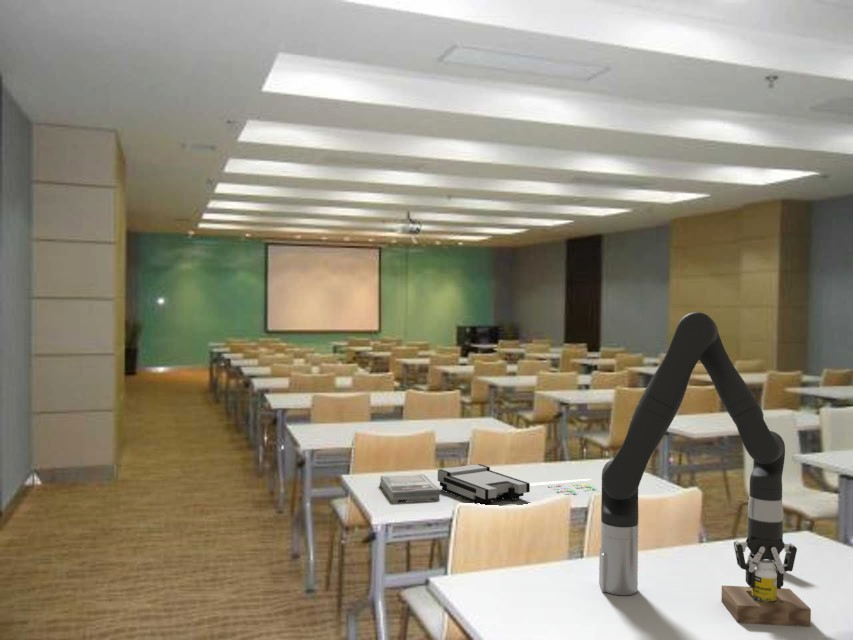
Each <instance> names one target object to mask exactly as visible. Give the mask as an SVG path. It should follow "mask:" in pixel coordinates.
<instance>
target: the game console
mask: <svg viewBox="0 0 853 640" xmlns="http://www.w3.org/2000/svg"><path fill="white" fill-rule="evenodd" d="M490 469H491V467H490V466H487V465H485V464H481V463H477V464H471V465H464V466H455V467H448V468H447V467H446V468H438V469H437V481H438V482H439V486H440V487H442V488H441V490H442V491H443V490H444V492H445V491H447V492H446V493H448V492H449V493H448V494H450V493H452V494H451V495H453V494H454V495H453V496H455V495H456V496H455V497H459V498H461V499H463V500H466V501H468V502H470V503H473V502H474V503H473V504H475V503H480V504H481V505H487V504H493V503H492V502H493V501H496V500H497V498H500V499H503V500H505V501H510V500H516V499H520V497H523V496H525V495H524V494H526V493H530V492H531V491H530V490H531V489H530V488H531V486H530V483H531V482H527V481H525V480H524V481H523V480H520V479H519V478H518V479H517V478H514V477H511V476H509V475H505V474H502V473H500V472H496V471H493V470H490Z"/></svg>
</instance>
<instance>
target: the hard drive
mask: <svg viewBox="0 0 853 640" xmlns="http://www.w3.org/2000/svg"><path fill="white" fill-rule="evenodd" d="M379 481H380V482H379V486H380V487H382V488H383V489H382V488H381V489H382V491H383V492H384V491H385V492H384V493H385V495H386V494H387V495H388V496H387V495H386V496H387V497H388V499H389V498H390V499H391V500H390V499H389V500H390V501H391V502H392V503H393V502H398V503H407V502H406V501H416V502H428V501H427V500H434V501H440V493H441V492H440V491H441V490H440V488H439V486H437V485H436V484H435V483H434V482H433V481H432V480H431V479H430V478H429V477H428V476H427V475H426V474H424V473H411V474H410V473H409V474H391V475H390V474H387V475H385V474H384V475H380V480H379Z"/></svg>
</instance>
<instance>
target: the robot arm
mask: <svg viewBox="0 0 853 640" xmlns="http://www.w3.org/2000/svg"><path fill="white" fill-rule="evenodd" d="M718 329H719V328H718V326H717V324H716V322H715V320H714V319H713V318H712V317H710V316H709V315H708V314H706V313H703V312H701V311H694V312H693V311H692V312H689V313H687V314H686V315H684V316H683V317H682V318H681V319H680V320H679V321H678V323H677V326H676V329H675V331H674V334H673V336H672V339H671V342H670V343H669V346H668V349H667V352H666V354H665V356H664V358H663V360H662V362H661V363H660V365H659V366H658V367H657V369H656V370H655V372H654V374H653V376H652V377H651V379H650V380H649V382H648V384H647V386H646V387H645V389H644V391H643V393H642V395H641V396H640V399H639V401H638V403H637V405H636V407H635V409H634V412H633V414H632V418H631V420H630V423H629V425H628V428H627V432H626V436H625V438H624V440H623V442H622V445H621V446H620V448H619V450H618V451H617V453H616V454H615V456H614V458H612V459H610V460H609V461H607V462H606V463H605V464H604V466H603V468H602V472H601V506H600V510H601V511H600V515H601V516H600V517H601V519H600V520H601V522H600V525H601V526H600V527H601V529H600V536H601V537H600V547H599V555H598V556H599V557H598V559H599V560H598V561H599V565H598V569H599V572H598V573H599V574H598V576H599V577H598V584H599V587H600V590H601V591H602V593H608V594H612V595H616V596H631V595H634V594H636V593H637V592H638V586H639V584H638V583H639V582H638V577H639V576H638V575H639V574H638V572H639V570H638V569H639V566H638V565H639V486H640V484H641V480H642V479H643V475H644V474H645V473H644V472H645V471H646V467H647V466H648V464H649V460H650V459H651V457H652V455H653V453H654V451H655V450H656V448H657V447H658V445H659V444H660V443H661V441H662V440H663V438H664V436H665V434H666V433H667V431H668V429H669V427H670V426H671V424H672V422H673V421H674V418H675V417H676V415H677V413H678V411H679V409H680V407H681V404H682V403H683V400H684V397H685V394H686V392H687V388H688V385H689V381H690V378H691V375H692V374H693V373H692V372H693V371H694V369H695V368H696V365H697V363H698V362H700V363H701V364H702V366H703V368H704V369H705V370H706V372H707V375H708V376H709V377H710V380H711V381H712V385H713V387H714V388H715V391H716V393H717V395H718V396H719V399H720V400H721V402H722V404H723V407H724V408H725V410H726V411H727V413H728V415H729V416H730V418H731V420H732V422H733V423H734V424H735V427H736V428H737V431H738V434H739V436H740V439H741V442H742V444H743V447H744V448H745V451H746V452H747V453H748V455H749V456H750V457H751V459H752V460H753V469H752V472H751V474H750V477H749V491H748V493H749V497H748V498H749V499H748V503H747V504H748V505H747V538H746V540H745V541H741V542H739V541H737V540H736V541H734V542H733V547H734V548H733V549H734V553H735V558H736V562H737V565H738V566H739V568H740V569H741V570H745V582H746V584H747V585H748V587H751V588H754V572H753V571H754V569H755V567H757V566H756V565H757V564H758V563H759V561H760V560H765V559H768V560H772V561H774V566H775V568H776V570H775V571H776V573H777V589H781V588H782V587H783V586H784V576H785V575H784V574H785V573H786V572H792V571H793V569H794V566H795V560H796V555H797V552H798V551H797V550H798V548H797V546H796V545H794V544H792V543H785V541H784V540H783V537H784V505H783V504H784V503H783V471H784V466H785V458H786V444H785V442H784V439H783V437H782V436H781V435H780V434H779V433H777V432H775V431H772V430H770V429H769V427H768V425H767V423H766V422H765V420H764V417H765V416H764V411H763V409H762V408H761V405H760V404H759V403H758V401H757V399H756V398H755V396H754V394H753V392H752V391H751V389H750V388H749V386H748V385H747V384H746V382H745V380H744V379H743V377H742V376H741V374H740V373H739V371H738V370H737V368H736V367H735V365H734V364H733V362H732V360H731V359H730V357H729V355H728V352H727V351H726V349H725V346H724V344H723V341H722V339H721V336H720V333H719V330H718ZM747 548H748V549H749V551H750V552H749V554H748V556H747V560H745V555H744V552H746V549H747ZM783 550H784V552H785V555H784V560H783V562H782V560H781V557H780V555H781V553H782V551H783ZM779 554H780V555H779Z"/></svg>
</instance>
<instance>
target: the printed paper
mask: <svg viewBox="0 0 853 640" xmlns="http://www.w3.org/2000/svg"><path fill="white" fill-rule="evenodd" d="M591 480H592V478H584V479H571V480H569V479H568V480H555V481H541V482H529V483H530V487H533V486H541V485H548V486H547V488H553V490H554V491H555V493H557V494H558V493H564V492H568V493H566V494H567V495H570V494H573V495H577V494H578V492H576V491H575V490H573V489H570V488H569V487H563V486H564V484H563V485H562V483H572V482H573V483H574V482H582V481H591ZM573 483H572V484H571V485H572V486H573V487H574V488H576V489H583V488H586V489H583V491H588V490H590V489H591V490H593V491H594V492H593V494H596V493H595V492H596V490H597V492H601V491H600V490H599V491H598V488H596V487H595V486H593V485H591V484H588V483H580V486H579V485H577V484H573ZM552 484H554V485H552ZM555 484H556V485H555ZM550 485H551V486H550ZM554 487H555V488H554ZM557 487H558V488H557ZM560 487H561V488H560ZM559 488H560V491H559Z"/></svg>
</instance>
